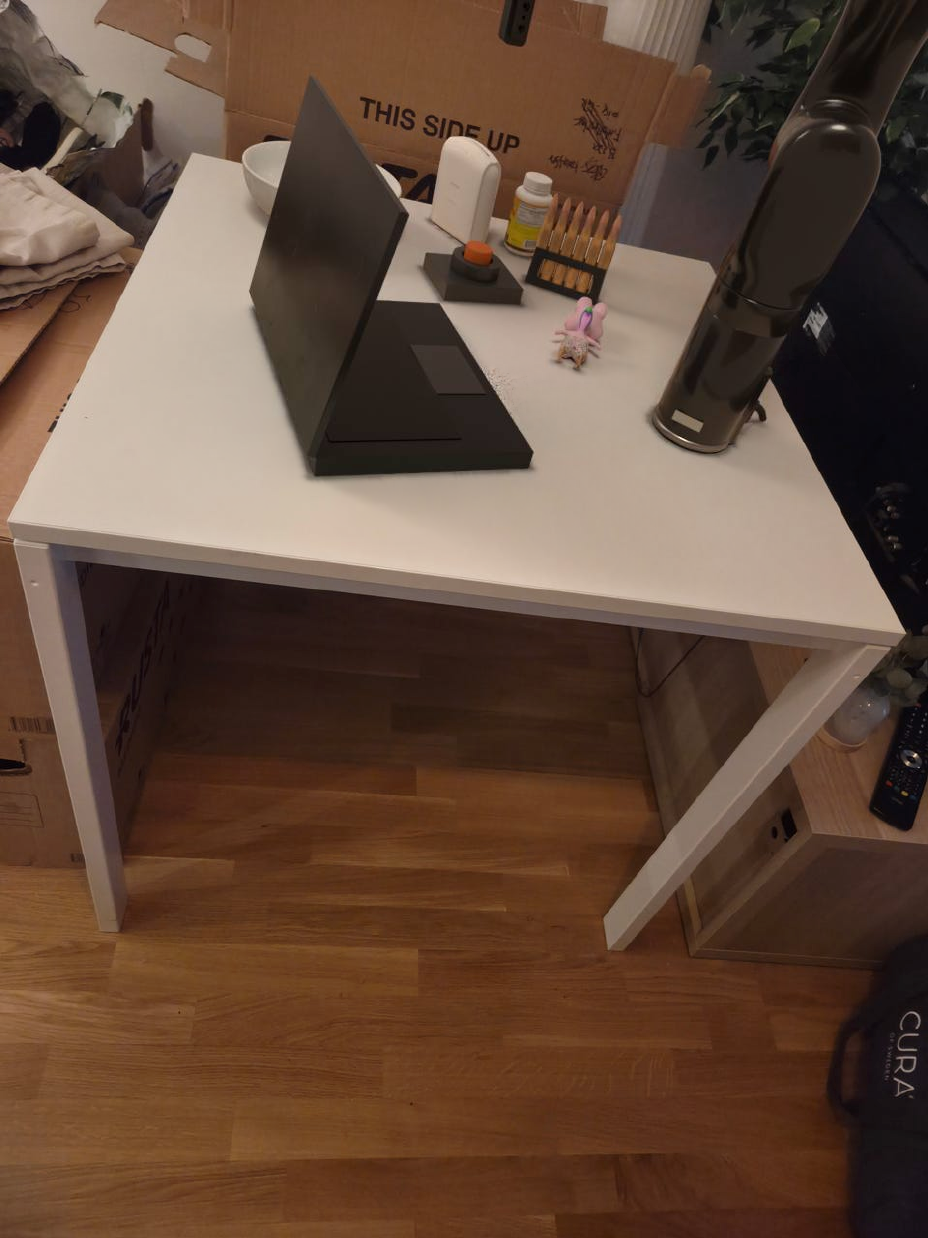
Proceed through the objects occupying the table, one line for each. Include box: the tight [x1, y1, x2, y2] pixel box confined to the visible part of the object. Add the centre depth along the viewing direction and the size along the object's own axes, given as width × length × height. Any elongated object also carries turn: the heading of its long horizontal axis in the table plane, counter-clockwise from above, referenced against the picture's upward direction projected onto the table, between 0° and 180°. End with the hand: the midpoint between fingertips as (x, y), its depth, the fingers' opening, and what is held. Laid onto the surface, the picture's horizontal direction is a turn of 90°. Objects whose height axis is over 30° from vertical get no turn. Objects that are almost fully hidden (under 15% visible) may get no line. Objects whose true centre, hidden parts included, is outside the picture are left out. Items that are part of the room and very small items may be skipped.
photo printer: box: [430, 135, 502, 245], centre depth 113 cm, size 10×4×12 cm, turn 39°
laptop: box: [307, 299, 535, 477], centre depth 84 cm, size 22×30×2 cm
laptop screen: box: [248, 75, 410, 458], centre depth 72 cm, size 22×30×1 cm
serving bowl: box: [241, 140, 403, 216], centre depth 106 cm, size 21×21×7 cm
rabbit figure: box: [554, 297, 608, 371], centre depth 99 cm, size 6×6×15 cm
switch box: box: [422, 245, 524, 306], centre depth 104 cm, size 11×9×4 cm
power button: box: [464, 241, 494, 265], centre depth 103 cm, size 4×4×2 cm
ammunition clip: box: [524, 192, 623, 307], centre depth 107 cm, size 11×2×12 cm, turn 76°
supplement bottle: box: [503, 171, 554, 257], centre depth 115 cm, size 6×6×10 cm
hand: (510, 42), depth 71 cm, fingers closed
